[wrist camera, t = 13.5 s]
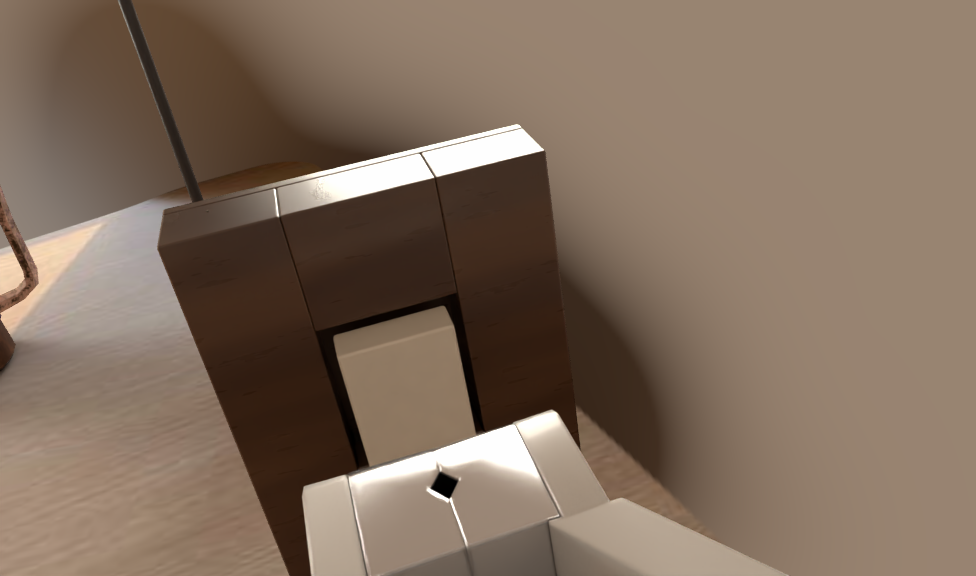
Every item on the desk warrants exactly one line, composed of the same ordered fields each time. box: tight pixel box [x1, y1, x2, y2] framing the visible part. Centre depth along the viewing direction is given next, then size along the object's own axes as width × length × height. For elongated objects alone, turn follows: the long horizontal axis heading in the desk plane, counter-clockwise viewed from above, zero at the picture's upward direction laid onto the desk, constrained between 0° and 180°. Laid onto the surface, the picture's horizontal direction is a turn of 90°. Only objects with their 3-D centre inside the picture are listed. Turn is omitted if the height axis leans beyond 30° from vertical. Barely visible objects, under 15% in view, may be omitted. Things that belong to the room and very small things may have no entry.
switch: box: [333, 306, 476, 466], centre depth 23 cm, size 1×3×4 cm, turn 106°
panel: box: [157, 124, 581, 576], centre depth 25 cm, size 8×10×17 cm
